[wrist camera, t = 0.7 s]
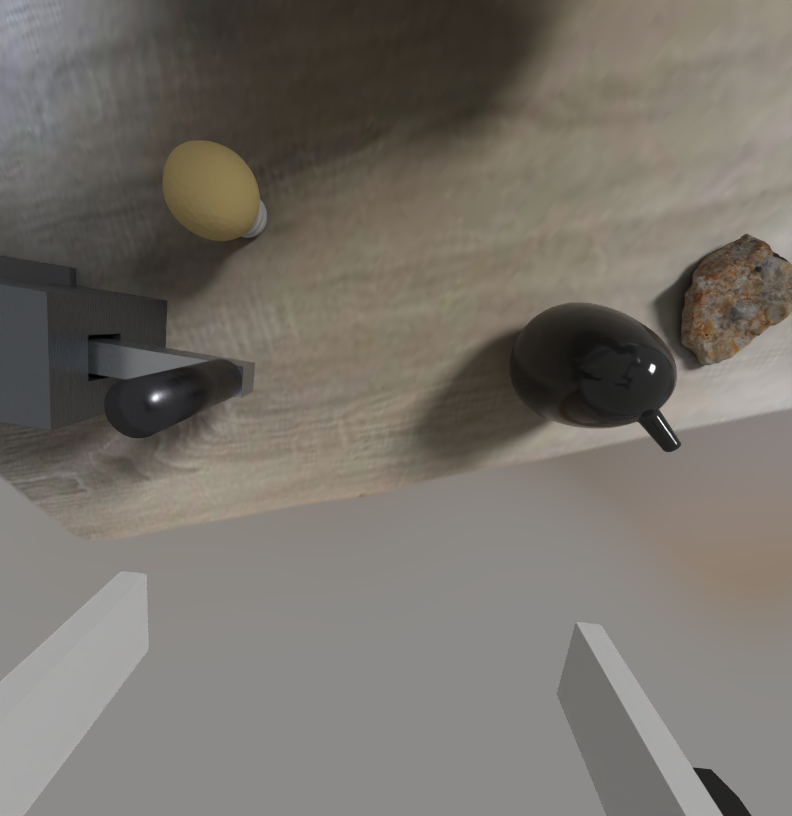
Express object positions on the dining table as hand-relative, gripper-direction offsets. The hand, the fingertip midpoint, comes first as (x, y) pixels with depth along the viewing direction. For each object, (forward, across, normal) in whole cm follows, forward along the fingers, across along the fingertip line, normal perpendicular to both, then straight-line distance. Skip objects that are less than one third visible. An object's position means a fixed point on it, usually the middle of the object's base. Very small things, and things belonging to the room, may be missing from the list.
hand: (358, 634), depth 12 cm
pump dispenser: (+28, +15, +7) cm, 33 cm away
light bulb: (+28, -14, +16) cm, 36 cm away
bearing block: (+28, -26, +4) cm, 38 cm away
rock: (+29, +30, +14) cm, 44 cm away
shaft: (+21, -25, +4) cm, 33 cm away
